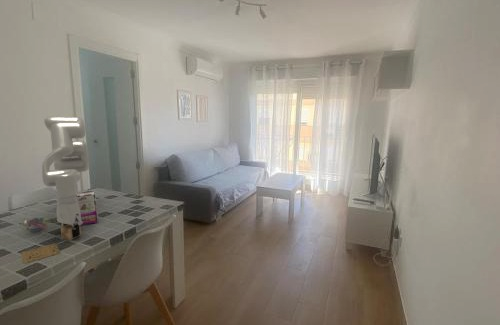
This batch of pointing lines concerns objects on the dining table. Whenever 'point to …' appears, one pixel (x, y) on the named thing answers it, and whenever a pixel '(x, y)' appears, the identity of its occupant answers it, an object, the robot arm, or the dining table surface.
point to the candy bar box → (88, 207)
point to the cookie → (40, 253)
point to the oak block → (68, 232)
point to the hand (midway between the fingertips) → (71, 235)
